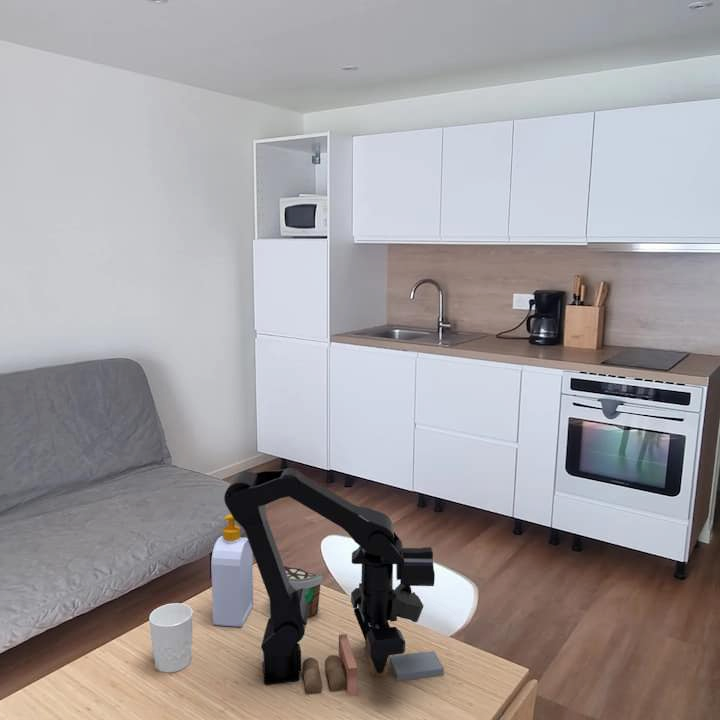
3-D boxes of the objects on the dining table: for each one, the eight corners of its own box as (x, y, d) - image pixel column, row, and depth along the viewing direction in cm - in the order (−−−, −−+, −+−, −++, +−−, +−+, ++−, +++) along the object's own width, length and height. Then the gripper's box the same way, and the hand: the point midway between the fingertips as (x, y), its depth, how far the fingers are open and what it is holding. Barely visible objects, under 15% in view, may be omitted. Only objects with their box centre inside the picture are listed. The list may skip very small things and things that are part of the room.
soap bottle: (244, 628, 136) (242, 525, 132) (212, 626, 137) (209, 523, 133) (256, 605, 145) (255, 508, 141) (226, 603, 146) (223, 506, 142)
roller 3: (372, 678, 118) (371, 663, 118) (364, 656, 125) (363, 642, 124) (388, 675, 119) (387, 660, 118) (380, 653, 125) (378, 639, 125)
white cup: (143, 662, 125) (141, 614, 123) (180, 644, 130) (178, 598, 129) (165, 681, 119) (163, 631, 118) (202, 661, 125) (200, 613, 123)
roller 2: (346, 676, 117) (346, 690, 118) (340, 654, 123) (340, 668, 124) (330, 677, 116) (329, 693, 117) (324, 655, 123) (324, 670, 123)
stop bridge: (348, 696, 116) (348, 668, 115) (338, 660, 126) (338, 634, 125) (356, 695, 116) (357, 667, 115) (346, 659, 126) (346, 633, 125)
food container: (260, 614, 141) (259, 571, 140) (276, 601, 147) (276, 559, 145) (308, 630, 136) (308, 585, 134) (323, 615, 141) (323, 572, 140)
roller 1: (302, 691, 116) (311, 677, 116) (299, 668, 122) (307, 655, 122) (316, 697, 117) (325, 683, 116) (312, 674, 123) (321, 661, 123)
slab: (397, 684, 120) (397, 674, 120) (389, 665, 125) (389, 656, 125) (443, 678, 122) (443, 668, 121) (433, 660, 127) (434, 650, 127)
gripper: (435, 606, 112) (432, 688, 114) (405, 556, 130) (404, 628, 132) (371, 612, 109) (370, 696, 112) (350, 561, 127) (350, 633, 130)
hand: (375, 660), depth 122 cm, fingers closed on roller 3, 6 cm apart
